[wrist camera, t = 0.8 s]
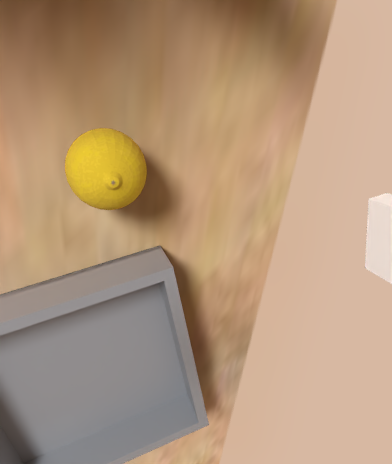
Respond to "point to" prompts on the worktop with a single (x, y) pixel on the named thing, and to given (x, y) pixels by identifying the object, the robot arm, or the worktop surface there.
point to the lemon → (105, 169)
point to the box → (97, 365)
